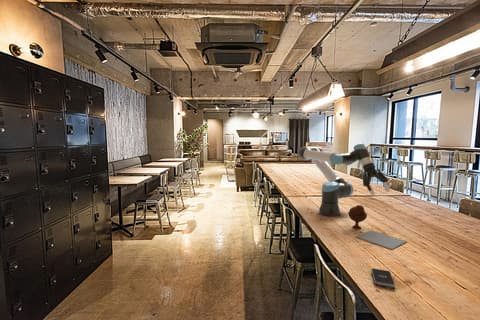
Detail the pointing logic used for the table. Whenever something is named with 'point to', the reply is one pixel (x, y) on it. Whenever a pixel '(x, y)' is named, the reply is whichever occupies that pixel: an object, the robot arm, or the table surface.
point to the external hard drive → (383, 278)
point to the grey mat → (381, 239)
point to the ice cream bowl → (357, 215)
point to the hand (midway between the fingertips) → (381, 193)
